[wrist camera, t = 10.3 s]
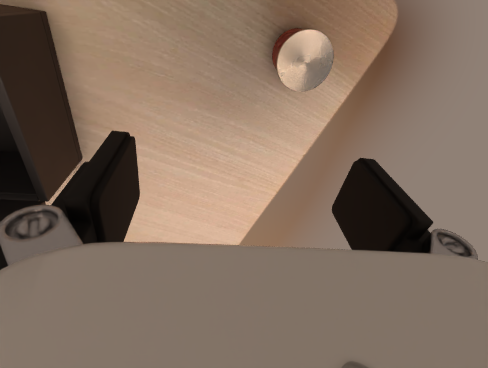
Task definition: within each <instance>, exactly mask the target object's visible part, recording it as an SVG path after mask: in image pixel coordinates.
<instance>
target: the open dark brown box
mask: <svg viewBox="0 0 488 368" xmlns="http://www.w3.org/2000/svg"><path fill="white" fill-rule="evenodd" d="M81 160H82V155H81V151H80V147H79V143H78V139H77V135H76V131H75V127H74V123H73V119H72V115H71V111H70V107H69V103H68V99H67V95H66V91H65V87H64V83H63V80H62V76H61V72H60V68H59V64H58V60H57V56H56V52H55V48H54V44H53V40H52V36H51V32H50V28H49V24H48V20H47V16H46V12H45V11H39V10H33V9H27V8H20V7H14V6H8V5H1V4H0V199H10V200H30V201H49V200H50V199H51V197H52V196H53V195H54V194H55V192H56V191H57V190H58V189H59V187H60V186H61V185H62V184H63V182H64V181H65V180H66V179H67V177H68V176H69V175H70V174H71V172H72V171H73V170H74V169H75V167H76V166H77V165H78V164H79V162H80V161H81Z"/></svg>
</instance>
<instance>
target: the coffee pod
mask: <svg viewBox="0 0 488 368" xmlns="http://www.w3.org/2000/svg"><path fill="white" fill-rule="evenodd" d="M272 59H273V64H274V66H275V68H276V70H277V73H278V76H279V78H280V80H281V81H282V83H283V84H284V85H285V86H286V87H287V88H289V89H291V90H293V91H298V92H303V91H308V90H311V89H313V88H315V87H317V86H318V85H320V84H321V83H322V82H323V81H324V80H325V78H326V77H327V76H328V74H329V72H330V70H331V68H332V64H333V59H334V53H333V47H332V44H331V42H330V40H329V39H328V37H327V36H326V35H325V34H323V33H322V32H320V31H318V30H314V29H301V28H294V29H290V30H288V31H286V32H284V33H283V34H282V35H281V36H280V37H279V38H278V40H277V41H276V43H275V45H274V48H273V53H272Z"/></svg>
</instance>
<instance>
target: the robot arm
mask: <svg viewBox="0 0 488 368" xmlns="http://www.w3.org/2000/svg"><path fill="white" fill-rule="evenodd" d="M139 196H140V189H139V178H138V166H137V154H136V143H135V138H134V137H131V136H130V134H129V132H120V131H112V132H111V133H110V134H109V136H108V137H107V138H106V140H105V141H104V142H103V144H102V145H101V146H100V148H99V149H98V150H97V152H96V153H95V155H94V156H93V157H92V159H91V160H90V161H89V162H84V163H83V164H82V165H81V167H80V168H79V169H78V171H77V172H76V173H75V175H74V176H73V177H72V178H71V180H70V181H69V182H68V184H67V185H66V186H65V188H64V189H63V190H62V191H61V193H60V194H59V195H58V197H57V198H56V199H55V201H54V202H53V203H52V205H34V206H30V207H25V208H23V209H20V210H18V211H15V212H13V213H12V214H10V215H8V216H7V217H6V218H5V219H3V220H2V221H1V222H0V368H488V262H484V261H480V260H478V256H477V253H476V251H475V249H474V248H473V247H472V245H471V244H469V243H468V242H467V241H466V240H465V239H463V238H462V237H460V236H459V235H457V234H455V233H453V232H450V231H448V230H444V229H435V230H433V231H432V232H431V233H430V232H429V231H428V228H429V227H430V226H431V225H432V224H433V221H432V220H431V219H430V218H429V217H428V216H427V215H426V214H425V213H424V212H423V211H422V210H421V209H420V208H419V206H418V205H417V204H416V203H415V202H414V201H413V200H412V199H411V198H410V197H409V196H408V195H407V194H406V193H405V192H404V191H403V189H402V188H401V187H399V185H398V184H397V183H396V182H395V181H394V180H393V179H392V178H391V177H390V176H389V175H388V174H387V173H386V172H385V170H384V169H383V168H382V167H381V166H380V165H379V164H378V163H377V162H376V161H375V160H373V159H366V158H360V159H358V160H357V161H355V162H354V163H353V165H352V167H351V169H350V171H349V173H348V175H347V177H346V179H345V181H344V183H343V185H342V187H341V189H340V192H339V194H338V196H337V197H336V200H335V202H334V204H333V206H332V213H333V215H334V217H335V219H336V220H337V222H338V224H339V226H340V228H341V230H342V232H343V234H344V236H345V238H346V239H347V241H348V243H349V245H350V247H351V249H352V250H343V249H341V250H340V249H319V248H295V247H270V246H247V245H221V244H194V243H166V242H123V241H124V239H125V236H126V233H127V231H128V228H129V225H130V222H131V220H132V217H133V214H134V211H135V209H136V206H137V203H138V200H139Z"/></svg>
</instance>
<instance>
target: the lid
mask: <svg viewBox="0 0 488 368" xmlns="http://www.w3.org/2000/svg"><path fill="white" fill-rule="evenodd" d="M34 205H46V204H45V201H30V200H10V199H0V222H1V221H2V220H3V219H5V218H6V217H7V216H8V215H10V214H12V213H13V212H15V211H18V210H20V209H23V208H25V207H30V206H34Z"/></svg>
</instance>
